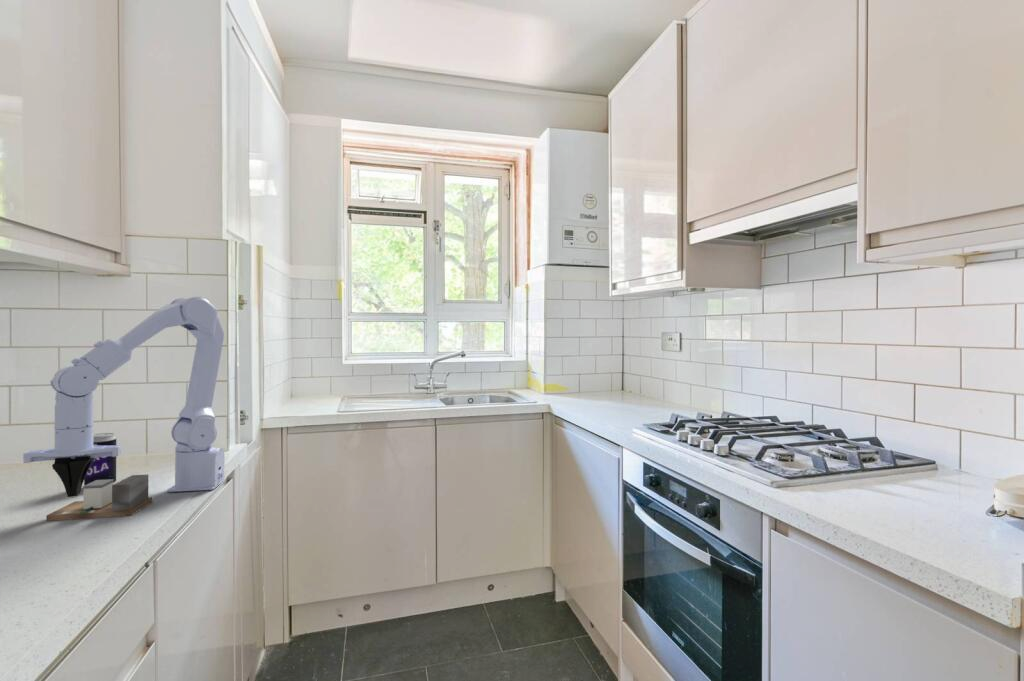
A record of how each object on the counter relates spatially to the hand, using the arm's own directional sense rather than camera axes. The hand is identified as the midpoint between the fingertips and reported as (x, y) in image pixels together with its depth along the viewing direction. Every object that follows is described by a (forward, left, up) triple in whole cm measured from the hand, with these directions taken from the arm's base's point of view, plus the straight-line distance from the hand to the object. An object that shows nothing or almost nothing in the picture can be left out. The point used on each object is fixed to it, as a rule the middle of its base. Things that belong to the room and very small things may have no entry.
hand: (73, 495), depth 96 cm
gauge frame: (-5, 0, -3) cm, 6 cm away
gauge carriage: (-4, +1, -2) cm, 5 cm away
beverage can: (+5, -18, -4) cm, 19 cm away
